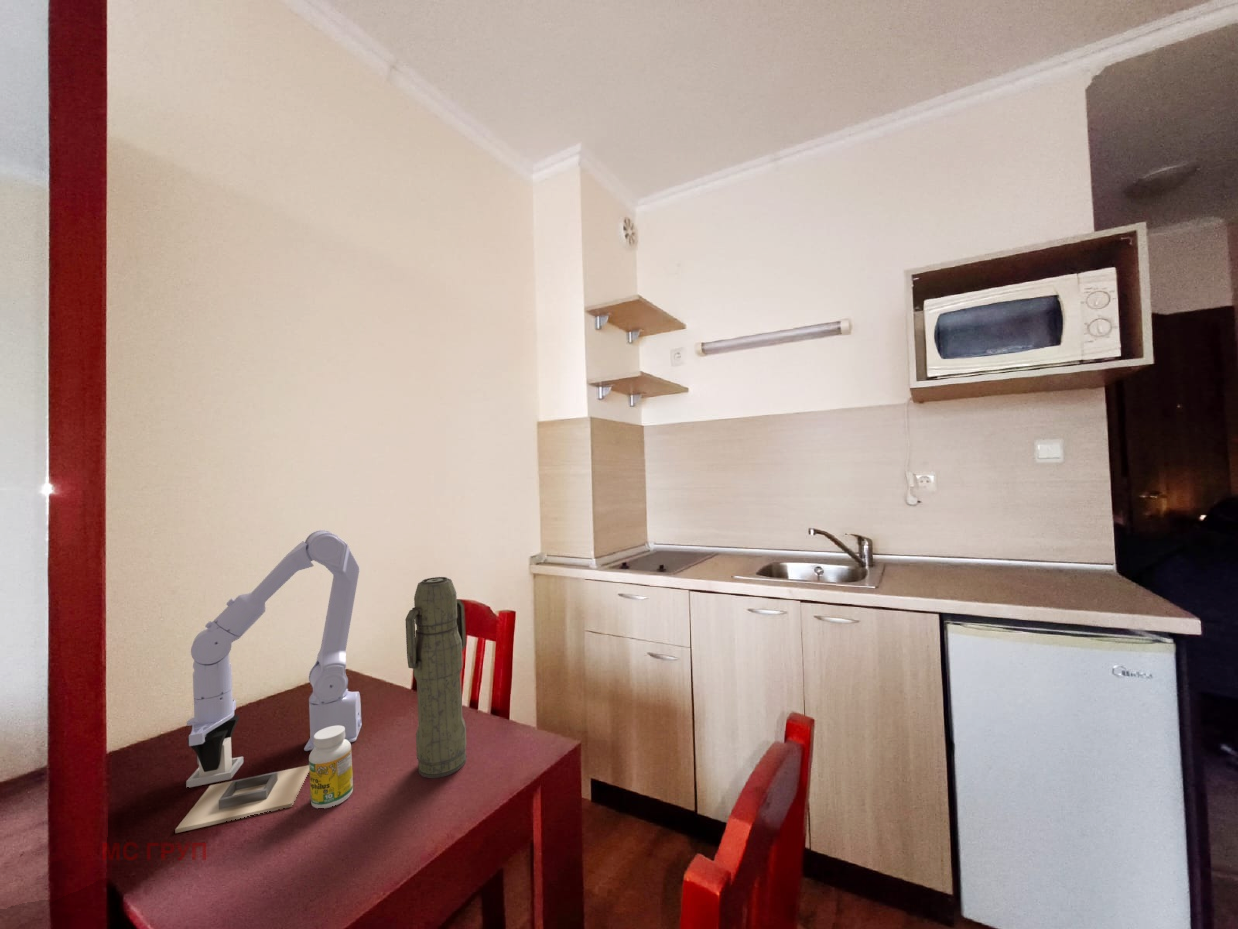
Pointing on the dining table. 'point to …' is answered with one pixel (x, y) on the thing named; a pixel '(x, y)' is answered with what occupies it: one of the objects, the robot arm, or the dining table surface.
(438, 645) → the thermos
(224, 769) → the plug
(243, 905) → the dining table surface
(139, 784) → the dining table surface
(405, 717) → the dining table surface
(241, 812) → the port board
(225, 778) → the white picture frame
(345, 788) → the supplement bottle
